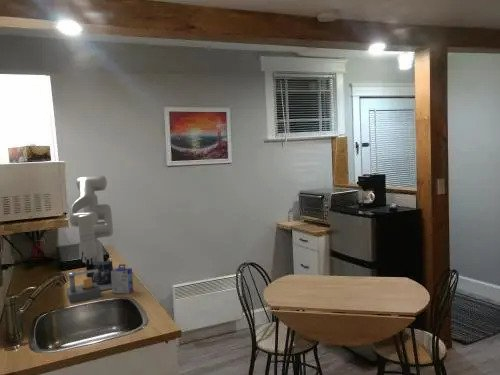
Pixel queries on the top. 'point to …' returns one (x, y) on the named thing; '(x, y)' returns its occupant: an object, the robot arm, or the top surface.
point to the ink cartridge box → (122, 280)
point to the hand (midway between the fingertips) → (90, 271)
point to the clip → (81, 272)
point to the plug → (87, 283)
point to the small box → (101, 273)
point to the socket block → (82, 292)
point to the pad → (105, 287)
